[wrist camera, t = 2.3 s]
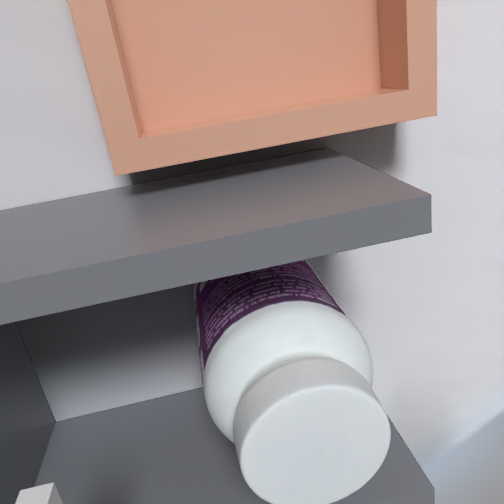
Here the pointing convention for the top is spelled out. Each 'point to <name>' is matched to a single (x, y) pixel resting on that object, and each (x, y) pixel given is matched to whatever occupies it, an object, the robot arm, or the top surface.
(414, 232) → the bay
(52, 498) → the robot arm
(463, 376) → the top surface
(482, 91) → the top surface
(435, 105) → the dish
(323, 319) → the pill bottle
